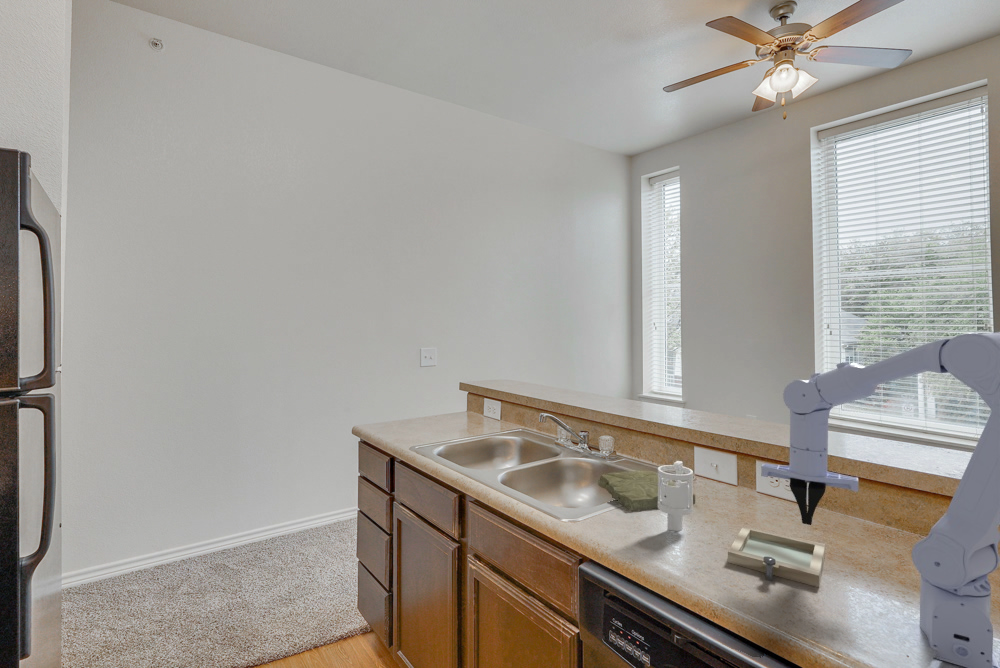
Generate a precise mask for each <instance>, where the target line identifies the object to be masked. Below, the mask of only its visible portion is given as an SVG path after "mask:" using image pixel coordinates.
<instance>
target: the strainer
mask: <svg viewBox="0 0 1000 668" xmlns="http://www.w3.org/2000/svg"><path fill="white" fill-rule="evenodd" d="M683 463H684V462H683V461H680V460H676V461H674V462H673V464H666V465H665V464H664V465H660V466H658V467H657V474H658V508H657V509H658V510H660V511H661V512H662V513H665V514H667V525H666V527H667V530H666V531H675V532H680V531H683V527H684V526H683V525H684V524H683V518H684V517H683V516H687V515H691V514H692V513H693V512H694V504H693V494H694V471H693V469H691V468H689V467H686V466H684V464H683ZM668 471H673V472H675V473H669V472H668ZM668 481H672V482H674V483H675V486H670V485H668Z"/></svg>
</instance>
